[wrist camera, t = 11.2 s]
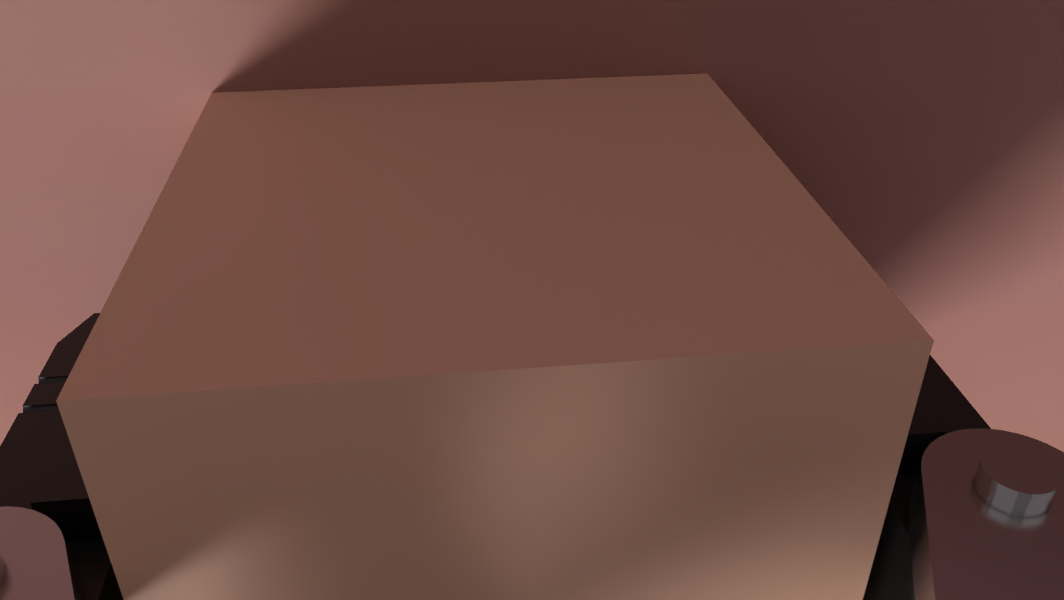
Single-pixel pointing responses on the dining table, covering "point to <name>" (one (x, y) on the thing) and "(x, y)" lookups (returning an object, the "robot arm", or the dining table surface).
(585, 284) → the tan block
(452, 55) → the dining table surface
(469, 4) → the dining table surface
